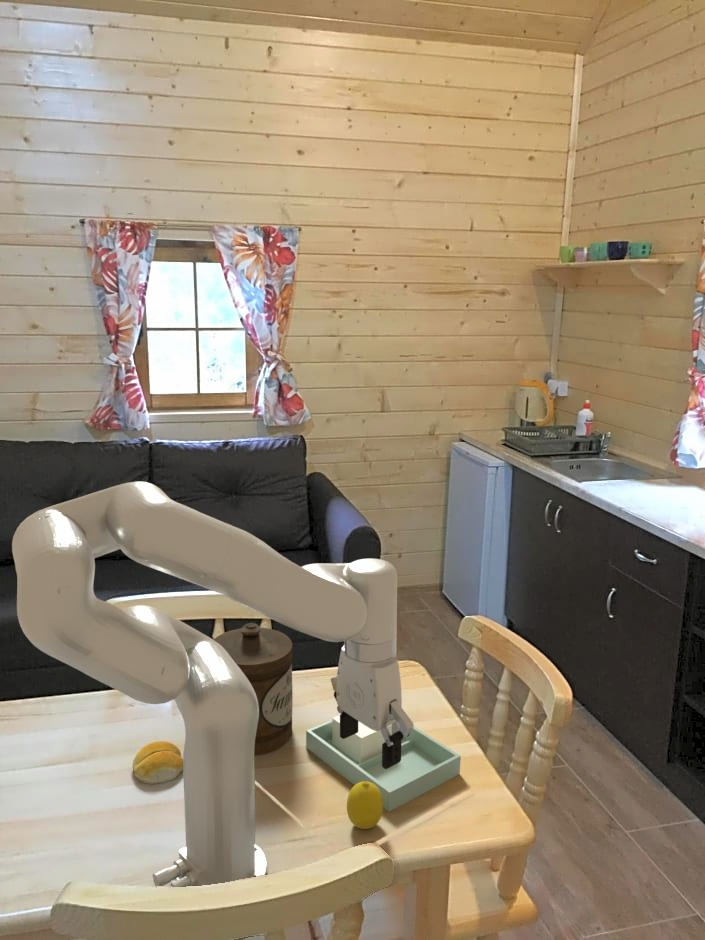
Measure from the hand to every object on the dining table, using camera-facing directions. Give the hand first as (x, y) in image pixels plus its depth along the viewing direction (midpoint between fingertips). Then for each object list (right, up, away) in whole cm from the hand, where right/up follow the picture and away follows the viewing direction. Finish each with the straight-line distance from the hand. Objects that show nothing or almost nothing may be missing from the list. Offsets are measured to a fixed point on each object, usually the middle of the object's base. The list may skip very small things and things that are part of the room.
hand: (369, 749), depth 119 cm
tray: (+2, -9, +19) cm, 21 cm away
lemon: (-1, -13, +3) cm, 14 cm away
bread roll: (-35, -9, +17) cm, 40 cm away
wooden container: (-21, -7, +27) cm, 35 cm away
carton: (-1, -7, +23) cm, 24 cm away
